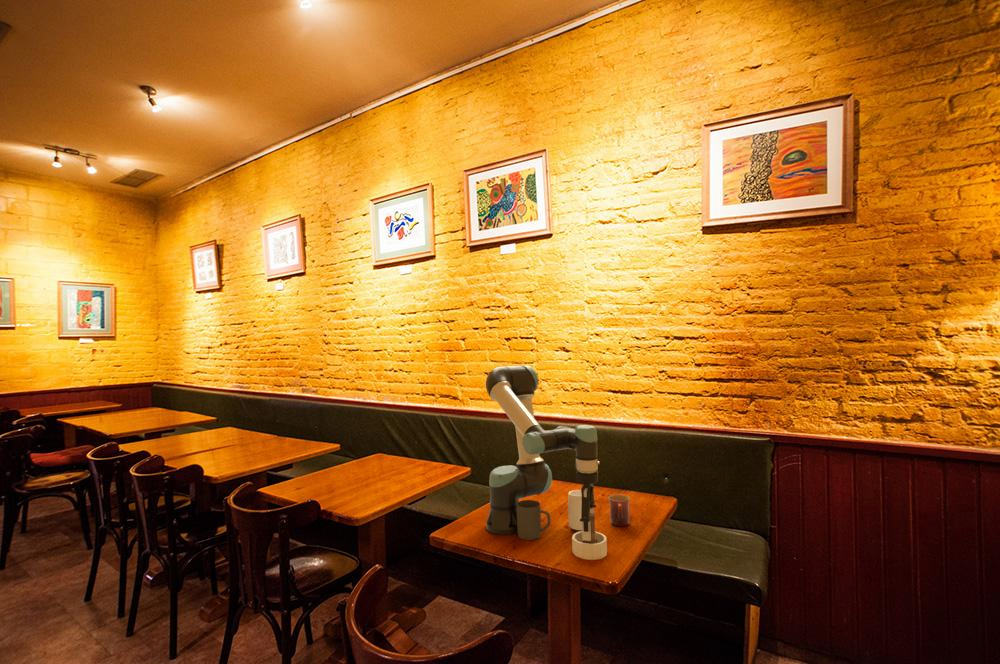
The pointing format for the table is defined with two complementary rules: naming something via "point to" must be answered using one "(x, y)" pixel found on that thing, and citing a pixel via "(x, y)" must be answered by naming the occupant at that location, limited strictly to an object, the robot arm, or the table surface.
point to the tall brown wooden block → (592, 529)
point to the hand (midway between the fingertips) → (588, 533)
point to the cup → (575, 509)
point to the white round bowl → (589, 546)
